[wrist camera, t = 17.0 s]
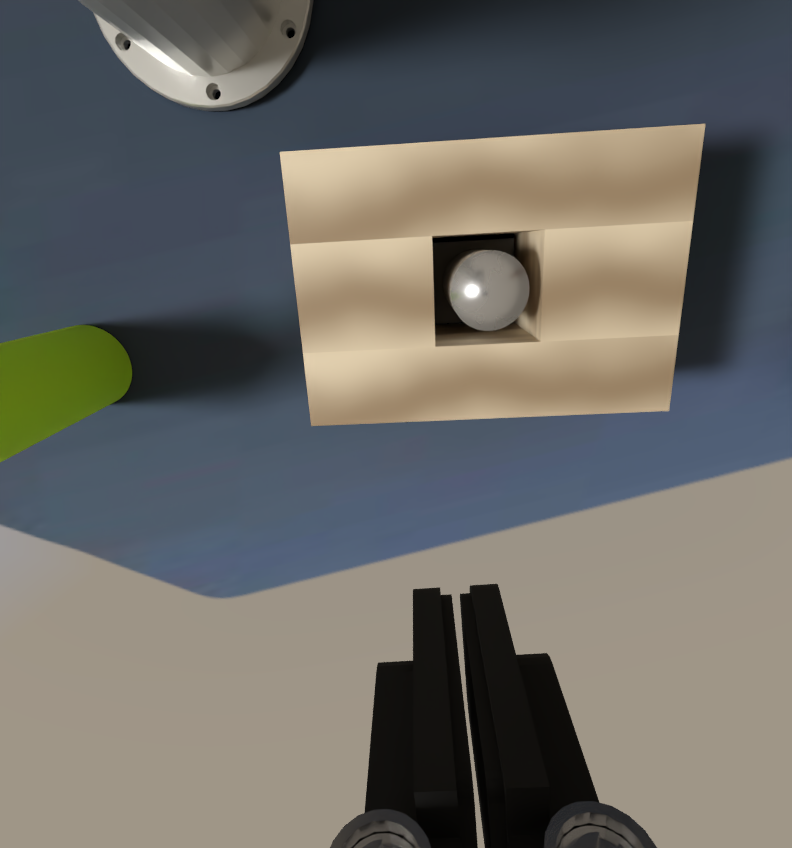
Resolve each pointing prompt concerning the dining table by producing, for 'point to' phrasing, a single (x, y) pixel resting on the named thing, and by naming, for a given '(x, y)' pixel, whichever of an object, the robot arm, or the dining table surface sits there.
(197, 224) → the dining table surface
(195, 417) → the dining table surface
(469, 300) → the peg
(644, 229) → the socket block
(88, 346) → the green soap pump bottle
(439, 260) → the gray square panel
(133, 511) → the dining table surface
